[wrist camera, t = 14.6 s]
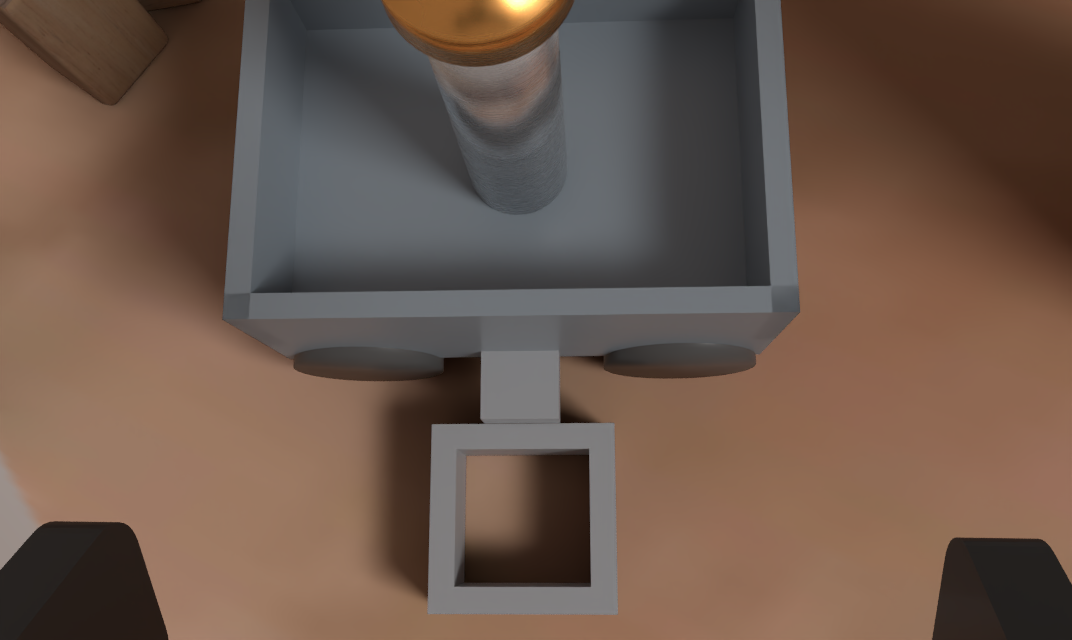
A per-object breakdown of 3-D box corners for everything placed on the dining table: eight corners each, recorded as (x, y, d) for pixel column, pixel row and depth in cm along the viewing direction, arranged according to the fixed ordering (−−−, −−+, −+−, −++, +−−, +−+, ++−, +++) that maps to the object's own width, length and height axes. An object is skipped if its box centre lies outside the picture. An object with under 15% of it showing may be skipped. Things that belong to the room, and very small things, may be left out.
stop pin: (583, 106, 30) (578, -160, 18) (584, 230, 29) (579, 32, 17) (455, 109, 30) (369, -152, 18) (452, 231, 29) (361, 38, 18)
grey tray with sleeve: (730, 66, 35) (775, -81, 27) (757, 608, 31) (820, 636, 23) (329, 77, 36) (249, -63, 28) (302, 607, 32) (199, 634, 23)
